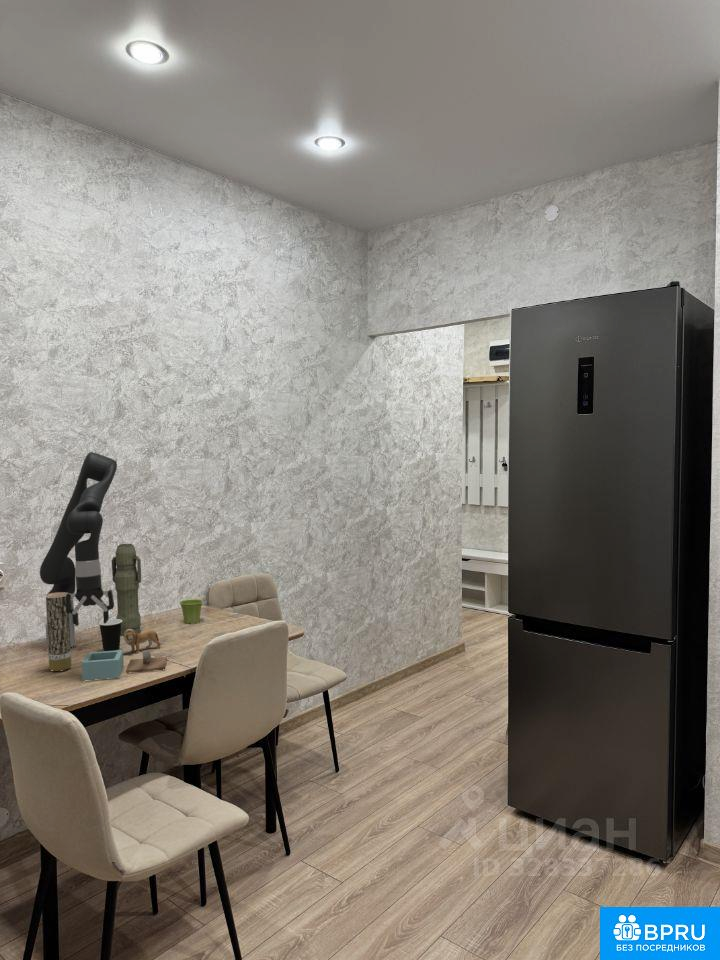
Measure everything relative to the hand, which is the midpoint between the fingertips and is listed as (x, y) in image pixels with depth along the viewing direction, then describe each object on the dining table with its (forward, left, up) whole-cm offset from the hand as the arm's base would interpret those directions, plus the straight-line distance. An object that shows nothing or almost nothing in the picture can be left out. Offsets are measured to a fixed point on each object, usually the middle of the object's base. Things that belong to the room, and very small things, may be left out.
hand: (91, 624), depth 225 cm
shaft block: (+16, +4, -16) cm, 23 cm away
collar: (+3, -1, -16) cm, 17 cm away
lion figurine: (+13, +24, -17) cm, 32 cm away
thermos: (+5, +51, -17) cm, 54 cm away
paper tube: (-12, +9, -17) cm, 22 cm away
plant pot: (+29, +61, -17) cm, 70 cm away
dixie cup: (+2, +25, -17) cm, 30 cm away
